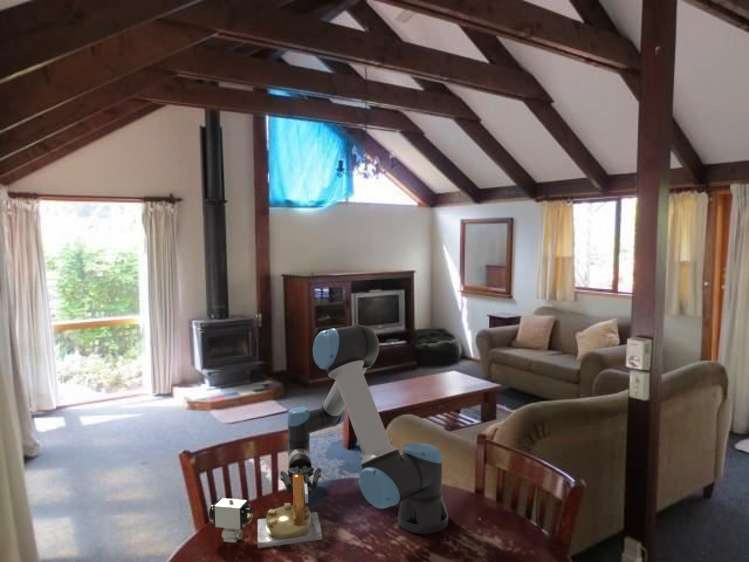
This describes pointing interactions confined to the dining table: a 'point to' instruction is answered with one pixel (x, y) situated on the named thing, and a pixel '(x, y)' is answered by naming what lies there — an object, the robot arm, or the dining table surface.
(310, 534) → the flange plate
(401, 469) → the robot arm
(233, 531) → the pneumatic valve
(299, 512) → the brass lugged disc
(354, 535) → the dining table surface
